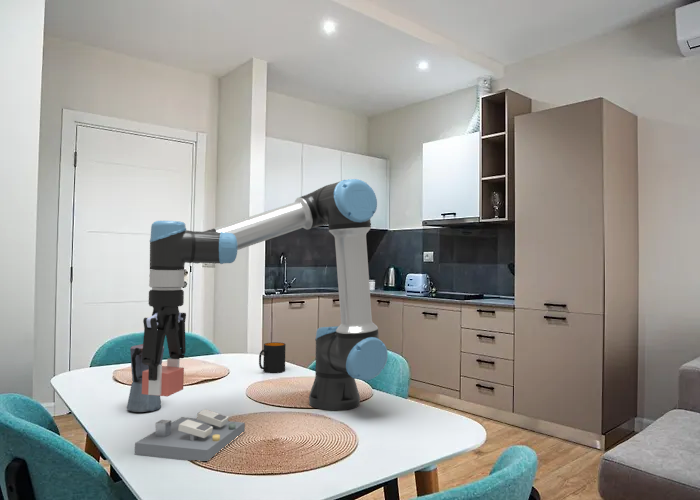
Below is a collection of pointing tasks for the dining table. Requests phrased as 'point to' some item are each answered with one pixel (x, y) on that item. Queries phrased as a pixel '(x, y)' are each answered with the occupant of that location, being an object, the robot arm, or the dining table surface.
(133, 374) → the moka pot
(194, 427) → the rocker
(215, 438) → the panel
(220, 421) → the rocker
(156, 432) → the post
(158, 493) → the dining table surface
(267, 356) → the mug
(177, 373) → the cap
